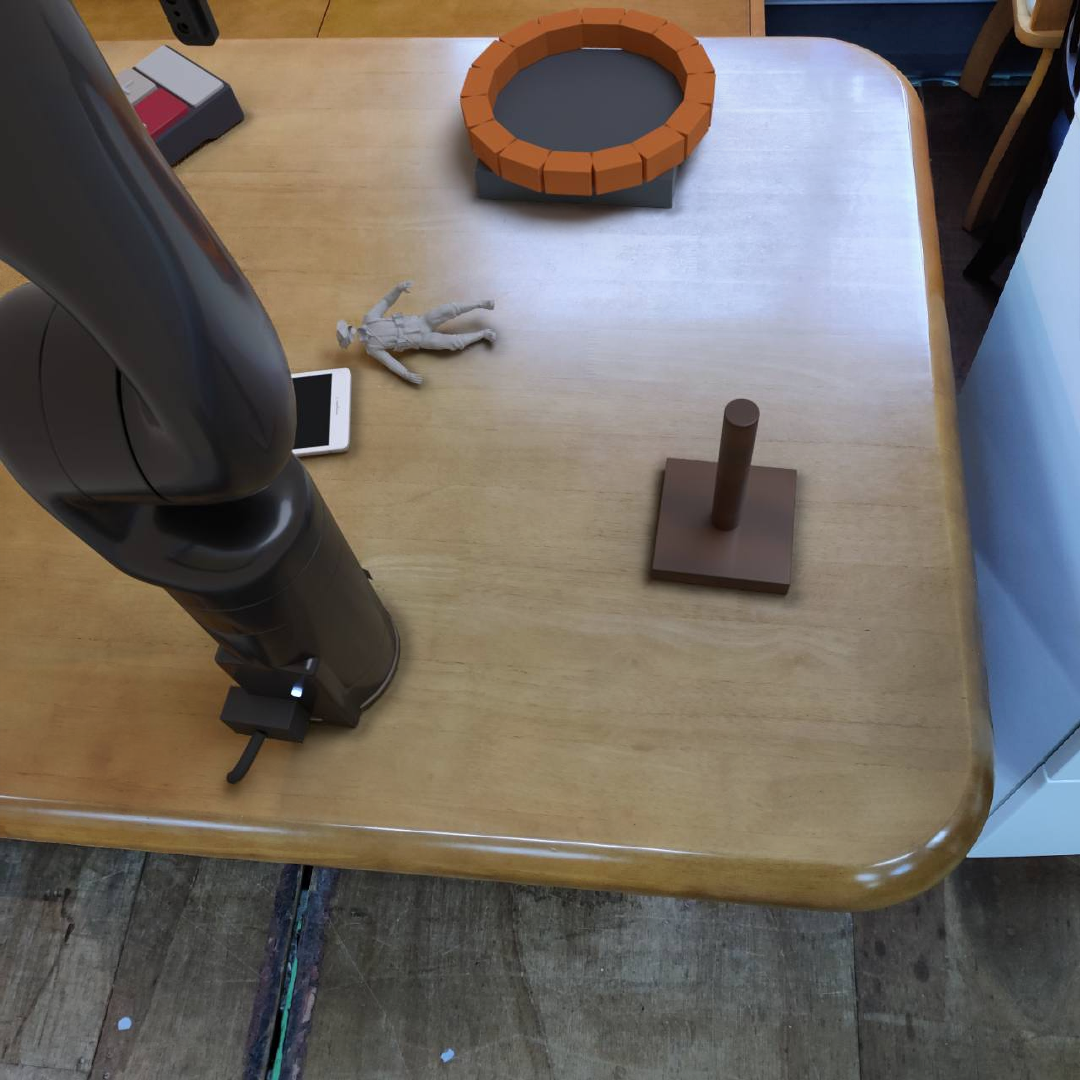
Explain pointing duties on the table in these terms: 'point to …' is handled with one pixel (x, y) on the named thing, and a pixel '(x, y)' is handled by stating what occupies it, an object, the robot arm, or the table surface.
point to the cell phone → (322, 411)
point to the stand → (586, 118)
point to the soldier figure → (410, 330)
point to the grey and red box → (179, 101)
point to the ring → (604, 166)
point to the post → (727, 514)
